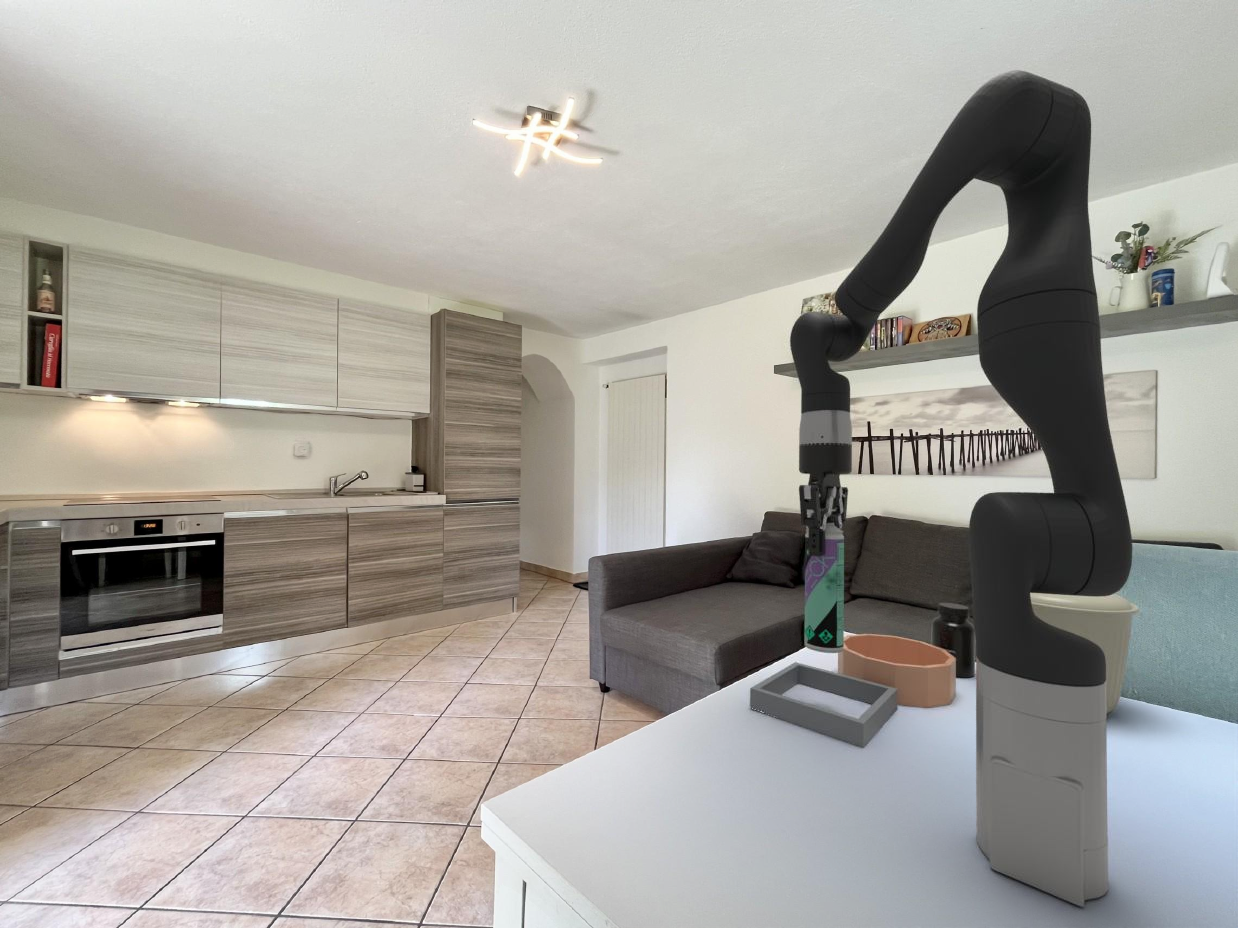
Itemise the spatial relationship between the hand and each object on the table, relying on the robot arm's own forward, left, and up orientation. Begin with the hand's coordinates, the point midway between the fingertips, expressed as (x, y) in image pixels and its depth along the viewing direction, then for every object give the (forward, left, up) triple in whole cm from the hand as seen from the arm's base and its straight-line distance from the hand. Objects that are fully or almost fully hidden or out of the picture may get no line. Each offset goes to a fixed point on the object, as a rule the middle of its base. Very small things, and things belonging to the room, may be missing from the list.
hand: (824, 553), depth 78 cm
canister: (+30, -26, -23) cm, 46 cm away
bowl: (+18, -5, -23) cm, 30 cm away
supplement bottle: (+33, -11, -23) cm, 42 cm away
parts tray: (0, 0, -23) cm, 23 cm away
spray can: (0, 0, -14) cm, 14 cm away
